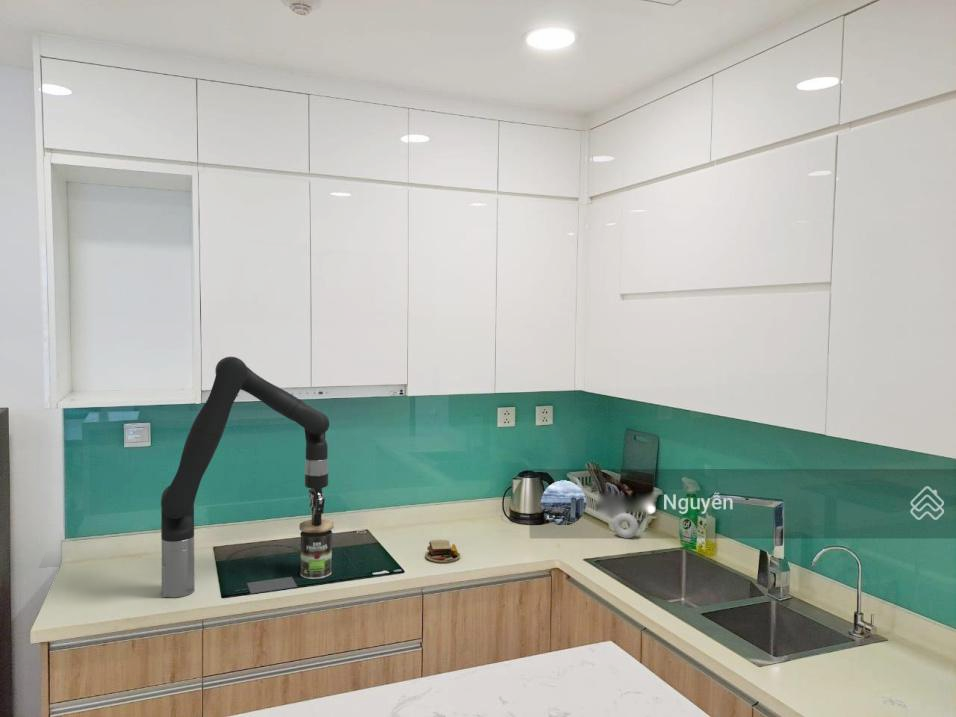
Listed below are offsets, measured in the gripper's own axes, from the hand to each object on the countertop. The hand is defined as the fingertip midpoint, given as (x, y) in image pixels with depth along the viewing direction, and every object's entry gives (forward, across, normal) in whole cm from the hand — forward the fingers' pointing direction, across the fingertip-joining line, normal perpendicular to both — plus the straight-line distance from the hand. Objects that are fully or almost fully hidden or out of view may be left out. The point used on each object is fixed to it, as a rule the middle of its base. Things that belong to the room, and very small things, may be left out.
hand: (316, 523), depth 228 cm
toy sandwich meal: (+18, +1, +45) cm, 48 cm away
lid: (+1, 0, 0) cm, 1 cm away
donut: (+17, +8, +120) cm, 121 cm away
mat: (+17, +5, -15) cm, 23 cm away
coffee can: (+17, 0, 0) cm, 17 cm away
